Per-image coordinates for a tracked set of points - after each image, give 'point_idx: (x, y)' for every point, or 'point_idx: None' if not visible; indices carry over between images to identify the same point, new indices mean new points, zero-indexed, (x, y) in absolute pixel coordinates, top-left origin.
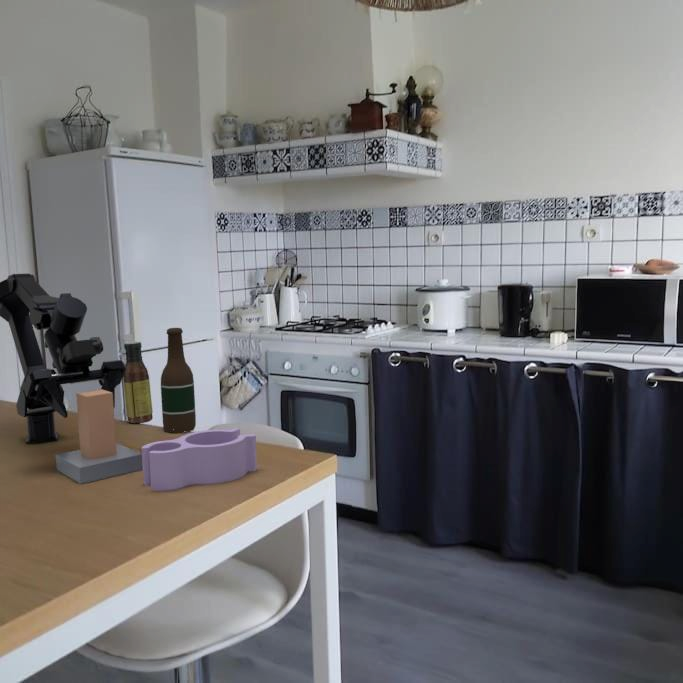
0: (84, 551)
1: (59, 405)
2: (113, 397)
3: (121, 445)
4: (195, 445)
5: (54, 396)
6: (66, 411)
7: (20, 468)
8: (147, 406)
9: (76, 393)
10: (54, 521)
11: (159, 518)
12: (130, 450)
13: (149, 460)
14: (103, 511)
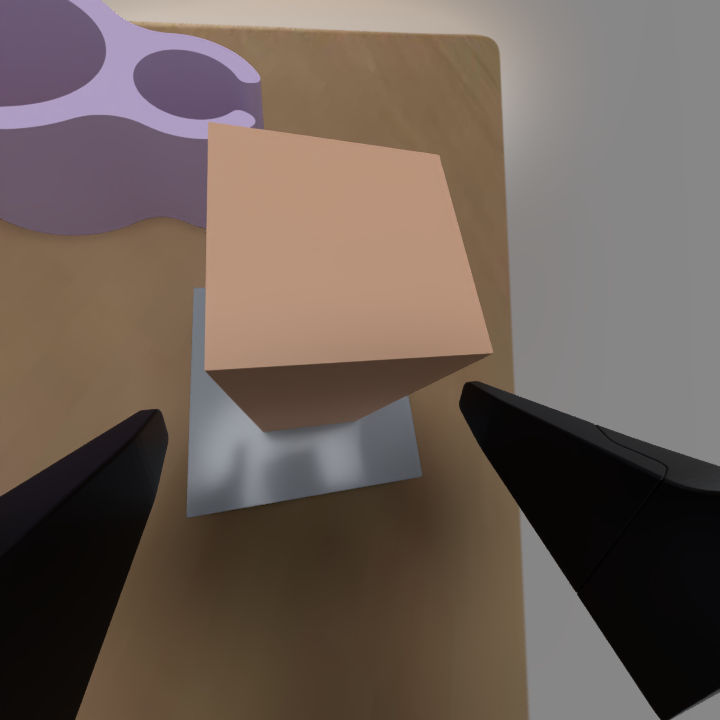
0: (427, 79)
1: (543, 406)
2: (78, 454)
3: (191, 447)
4: (109, 27)
5: (637, 441)
6: (480, 387)
7: (487, 565)
8: None
9: (489, 350)
10: (446, 175)
11: (315, 79)
12: (200, 354)
13: None
14: None
